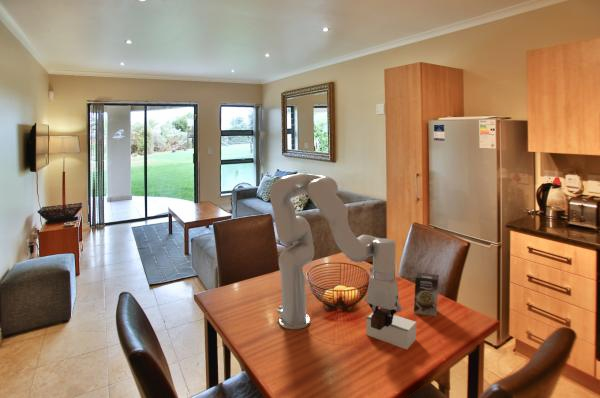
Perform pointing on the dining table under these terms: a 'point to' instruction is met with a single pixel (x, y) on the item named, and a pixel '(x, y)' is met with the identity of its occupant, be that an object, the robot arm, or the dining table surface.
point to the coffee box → (426, 294)
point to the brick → (379, 319)
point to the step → (394, 332)
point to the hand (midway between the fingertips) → (382, 322)
